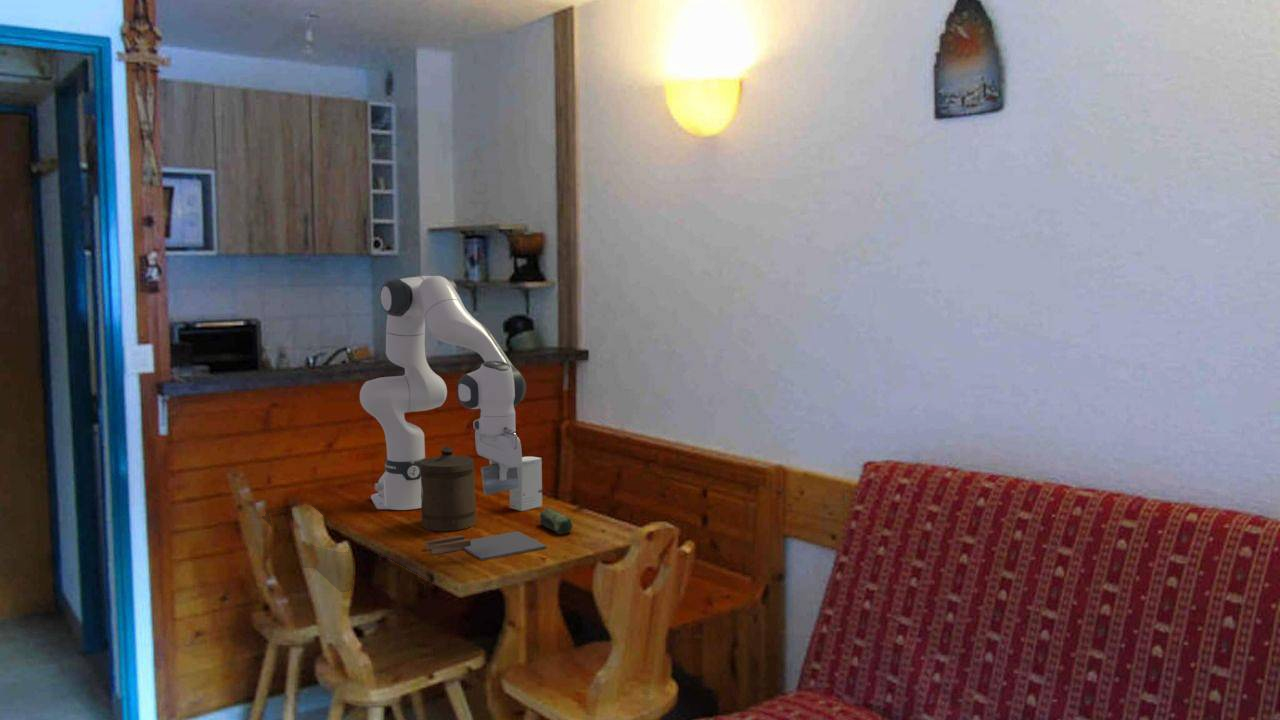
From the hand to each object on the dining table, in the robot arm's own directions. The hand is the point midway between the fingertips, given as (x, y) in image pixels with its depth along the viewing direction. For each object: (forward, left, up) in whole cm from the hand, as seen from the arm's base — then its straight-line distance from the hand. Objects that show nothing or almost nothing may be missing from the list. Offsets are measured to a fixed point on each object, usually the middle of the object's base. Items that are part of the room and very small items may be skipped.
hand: (499, 478), depth 256 cm
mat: (0, 0, -18) cm, 18 cm away
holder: (-6, -12, -18) cm, 22 cm away
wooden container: (-27, -3, -18) cm, 33 cm away
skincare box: (-31, +23, -18) cm, 43 cm away
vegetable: (-6, +19, -18) cm, 27 cm away
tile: (0, 0, -3) cm, 3 cm away
